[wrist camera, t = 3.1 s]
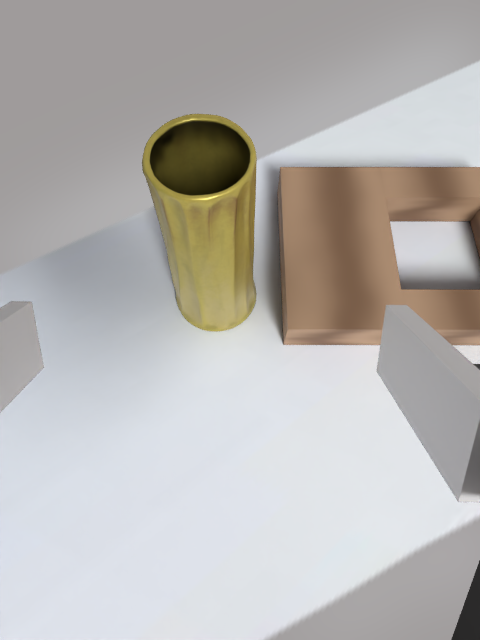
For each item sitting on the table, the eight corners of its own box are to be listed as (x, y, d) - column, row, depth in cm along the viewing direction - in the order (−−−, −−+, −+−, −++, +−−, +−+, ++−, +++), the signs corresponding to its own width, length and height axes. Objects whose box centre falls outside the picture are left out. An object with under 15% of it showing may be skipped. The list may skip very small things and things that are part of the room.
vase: (211, 248, 33) (192, 88, 20) (272, 289, 32) (293, 145, 19) (160, 301, 32) (103, 163, 18) (222, 348, 30) (207, 232, 17)
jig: (283, 344, 30) (287, 329, 27) (277, 192, 36) (280, 167, 33) (530, 345, 30) (559, 329, 27) (485, 192, 36) (505, 167, 33)
